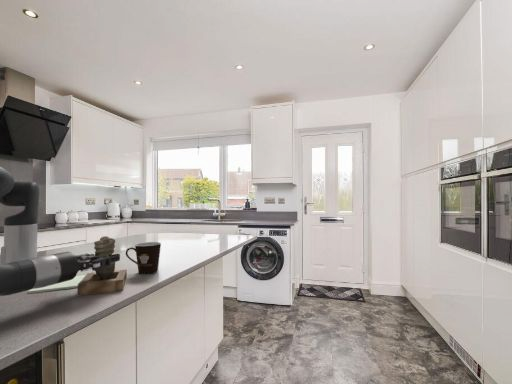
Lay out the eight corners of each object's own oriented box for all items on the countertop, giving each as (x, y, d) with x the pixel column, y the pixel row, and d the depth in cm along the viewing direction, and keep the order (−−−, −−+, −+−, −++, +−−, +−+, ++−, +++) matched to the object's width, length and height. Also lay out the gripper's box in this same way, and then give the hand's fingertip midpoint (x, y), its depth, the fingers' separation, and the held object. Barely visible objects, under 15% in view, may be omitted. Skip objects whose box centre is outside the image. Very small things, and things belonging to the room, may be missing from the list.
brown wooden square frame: (77, 296, 70) (77, 284, 70) (87, 283, 81) (87, 273, 81) (122, 290, 74) (123, 279, 74) (126, 278, 85) (126, 269, 85)
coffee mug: (166, 270, 95) (166, 242, 96) (147, 276, 88) (147, 246, 88) (143, 267, 100) (143, 241, 101) (123, 272, 92) (123, 244, 93)
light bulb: (105, 290, 74) (105, 237, 75) (88, 289, 75) (89, 237, 76) (119, 284, 80) (119, 235, 80) (103, 283, 81) (104, 234, 81)
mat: (27, 293, 72) (27, 291, 72) (44, 281, 83) (44, 279, 84) (78, 287, 77) (78, 285, 77) (87, 276, 88) (87, 274, 88)
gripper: (67, 257, 62) (129, 245, 77) (35, 252, 68) (97, 242, 84) (67, 288, 62) (128, 270, 77) (34, 281, 68) (97, 266, 83)
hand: (112, 256), depth 80 cm, fingers closed on light bulb, 5 cm apart
